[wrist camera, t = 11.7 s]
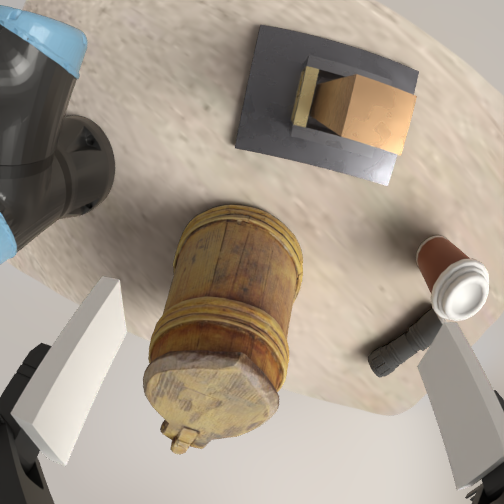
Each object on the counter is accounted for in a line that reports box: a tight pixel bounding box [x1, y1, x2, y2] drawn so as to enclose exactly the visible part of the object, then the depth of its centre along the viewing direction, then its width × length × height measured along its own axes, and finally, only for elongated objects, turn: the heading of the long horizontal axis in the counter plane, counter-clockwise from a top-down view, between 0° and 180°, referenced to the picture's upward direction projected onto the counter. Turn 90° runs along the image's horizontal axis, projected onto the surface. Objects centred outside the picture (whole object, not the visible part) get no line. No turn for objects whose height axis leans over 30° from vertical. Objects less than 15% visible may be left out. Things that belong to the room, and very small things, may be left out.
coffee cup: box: [416, 235, 489, 321], centre depth 38 cm, size 9×9×12 cm
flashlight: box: [368, 308, 446, 377], centre depth 49 cm, size 15×5×5 cm, turn 138°
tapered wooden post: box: [310, 74, 417, 155], centre depth 25 cm, size 4×4×20 cm
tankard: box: [143, 205, 303, 454], centre depth 37 cm, size 18×24×25 cm
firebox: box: [235, 25, 419, 186], centre depth 31 cm, size 20×16×9 cm
